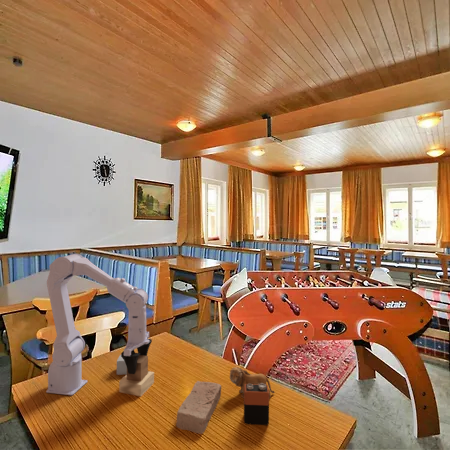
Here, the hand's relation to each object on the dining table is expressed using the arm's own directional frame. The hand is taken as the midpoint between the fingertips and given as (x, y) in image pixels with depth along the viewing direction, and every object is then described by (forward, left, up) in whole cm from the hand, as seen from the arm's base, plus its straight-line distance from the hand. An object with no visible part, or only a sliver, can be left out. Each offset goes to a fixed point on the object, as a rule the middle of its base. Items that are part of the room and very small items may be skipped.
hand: (137, 367), depth 96 cm
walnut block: (0, 0, -3) cm, 3 cm away
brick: (+24, -8, -7) cm, 26 cm away
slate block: (-9, +9, -7) cm, 14 cm away
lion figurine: (+38, +2, -7) cm, 38 cm away
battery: (+40, -9, -7) cm, 42 cm away
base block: (0, 0, -7) cm, 7 cm away
